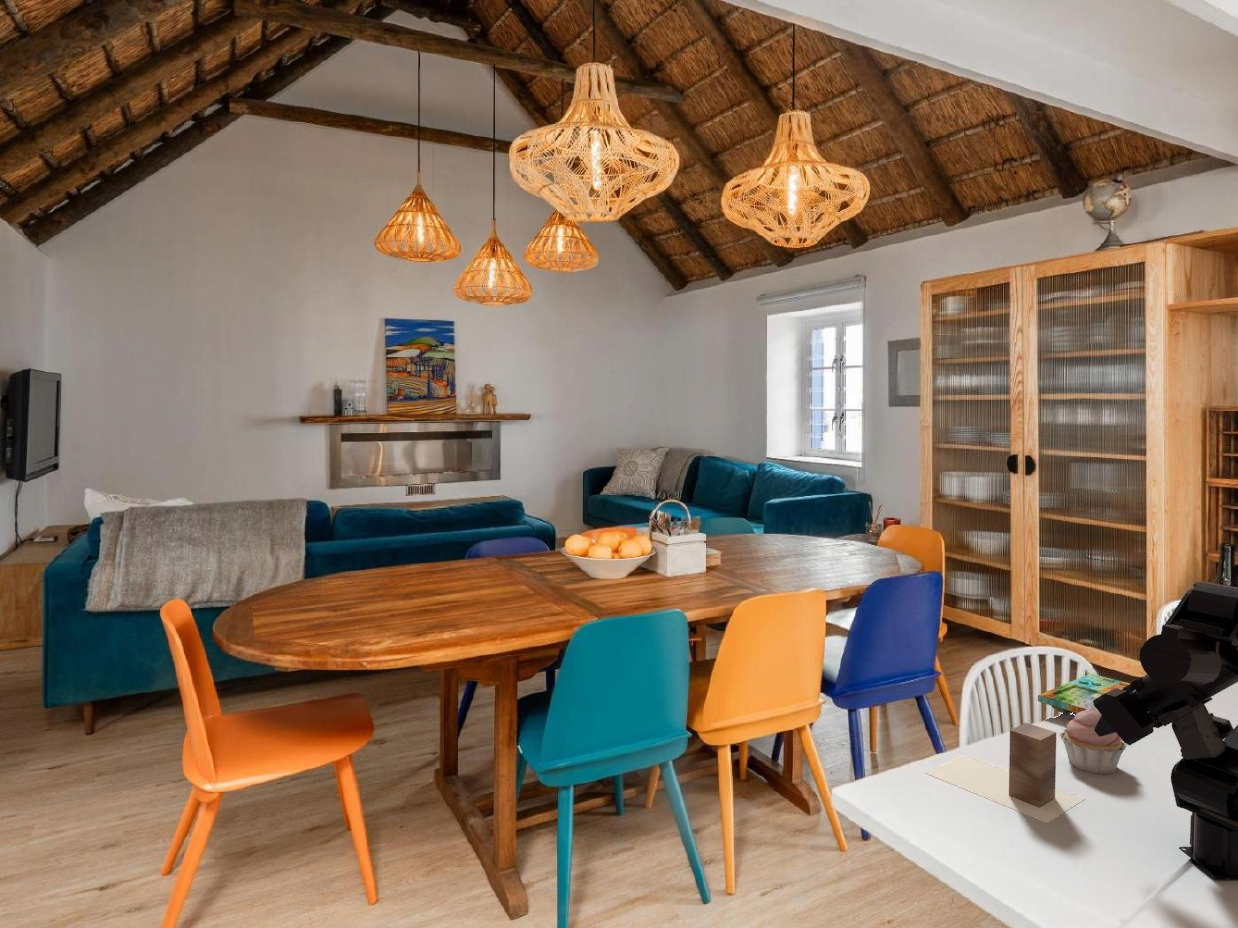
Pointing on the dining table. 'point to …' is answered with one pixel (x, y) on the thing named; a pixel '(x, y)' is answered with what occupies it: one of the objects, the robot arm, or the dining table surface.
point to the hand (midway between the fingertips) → (1097, 732)
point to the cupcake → (1091, 744)
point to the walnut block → (1032, 764)
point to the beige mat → (999, 787)
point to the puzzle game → (1079, 693)
